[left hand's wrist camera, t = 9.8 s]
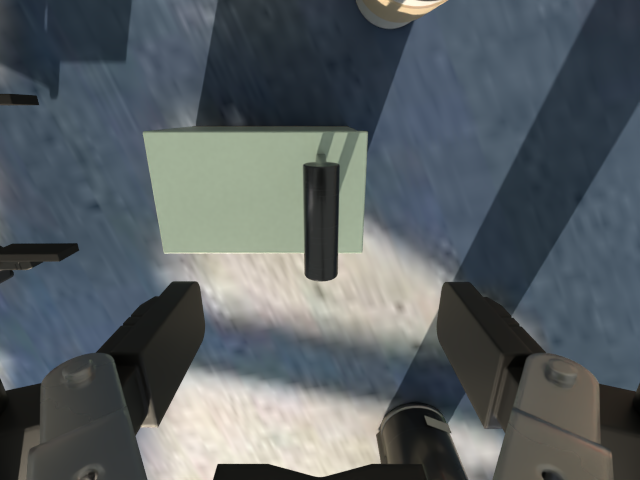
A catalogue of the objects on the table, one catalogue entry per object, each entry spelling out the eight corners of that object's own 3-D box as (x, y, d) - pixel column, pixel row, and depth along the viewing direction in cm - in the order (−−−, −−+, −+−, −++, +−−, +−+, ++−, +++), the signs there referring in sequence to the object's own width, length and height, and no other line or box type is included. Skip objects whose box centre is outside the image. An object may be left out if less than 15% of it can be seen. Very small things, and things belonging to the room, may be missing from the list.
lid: (366, 130, 25) (388, 138, 17) (361, 249, 28) (377, 302, 20) (148, 130, 25) (67, 138, 17) (168, 249, 28) (108, 302, 20)
